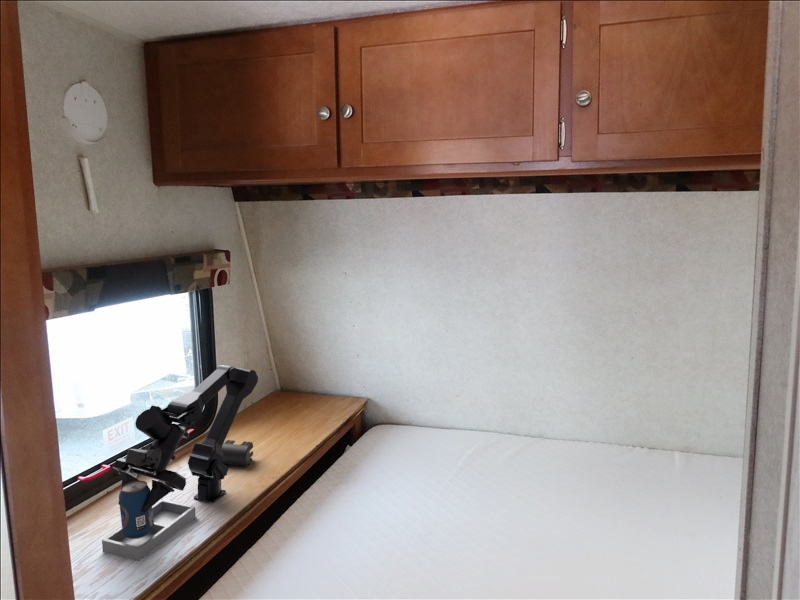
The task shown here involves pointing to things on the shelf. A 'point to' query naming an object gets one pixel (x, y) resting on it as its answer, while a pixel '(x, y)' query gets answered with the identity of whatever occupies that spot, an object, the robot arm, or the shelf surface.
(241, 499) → the shelf surface
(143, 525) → the soda can
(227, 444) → the end cap
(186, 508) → the can carrier
